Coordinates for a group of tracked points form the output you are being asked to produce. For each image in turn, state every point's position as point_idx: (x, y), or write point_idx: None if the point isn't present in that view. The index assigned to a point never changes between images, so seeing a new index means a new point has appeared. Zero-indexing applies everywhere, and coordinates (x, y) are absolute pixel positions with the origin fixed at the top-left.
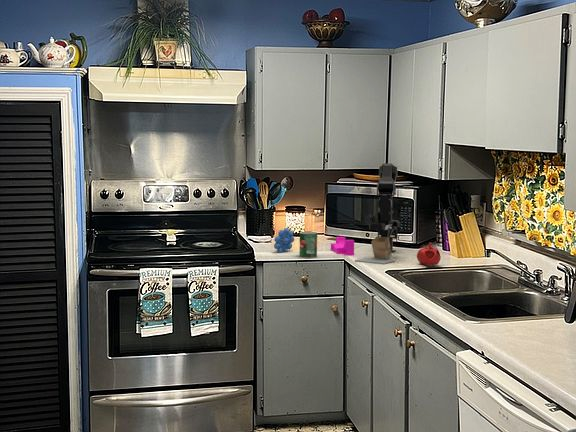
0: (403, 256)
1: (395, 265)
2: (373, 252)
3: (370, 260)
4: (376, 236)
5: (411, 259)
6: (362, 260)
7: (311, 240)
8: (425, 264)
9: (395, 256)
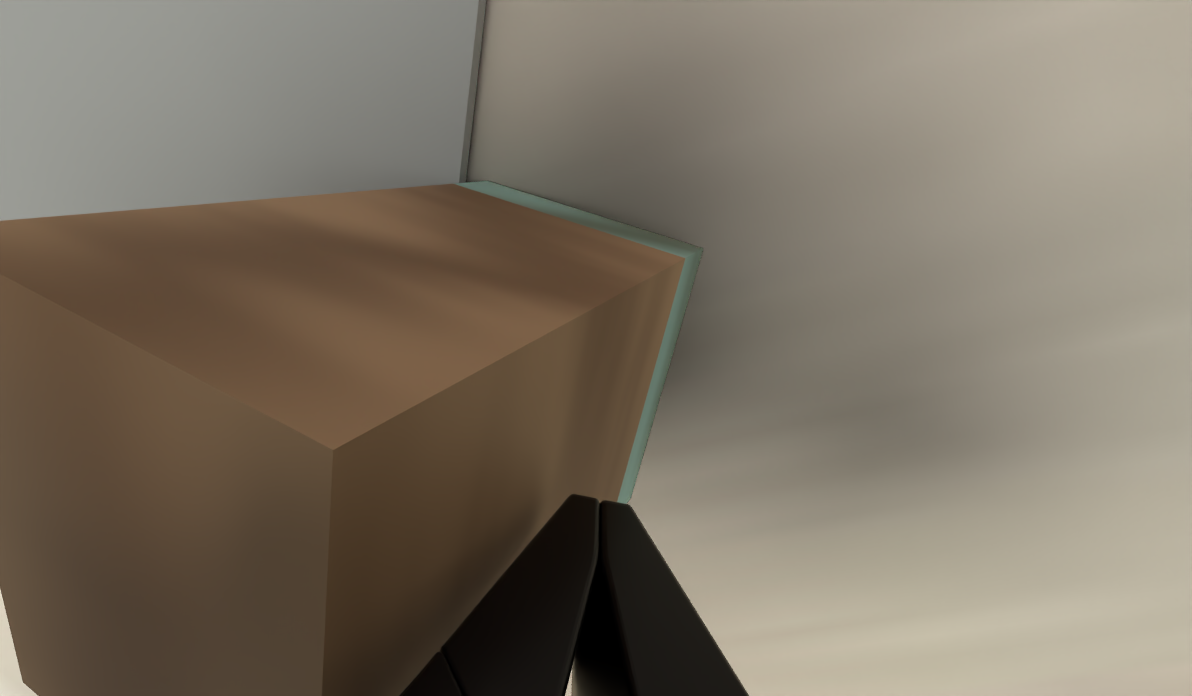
0: (1168, 517)
1: None
2: (362, 195)
3: (137, 201)
4: (327, 447)
5: (803, 665)
6: (15, 41)
7: None
8: None
9: (1145, 404)
